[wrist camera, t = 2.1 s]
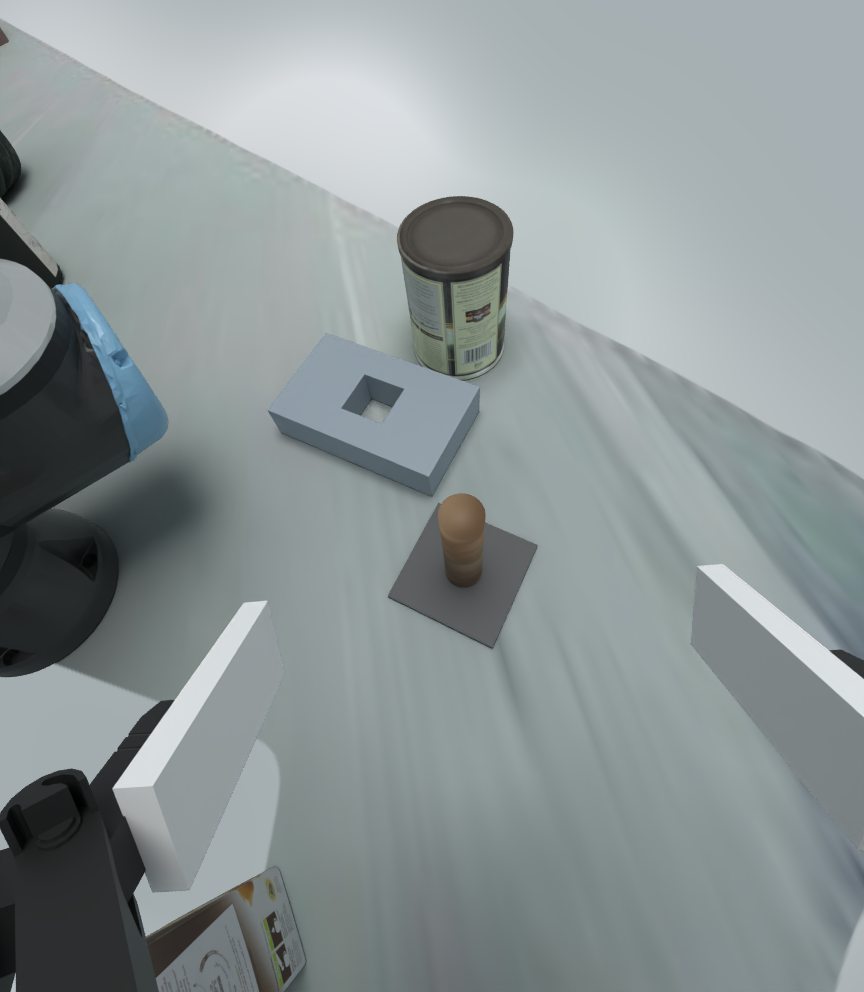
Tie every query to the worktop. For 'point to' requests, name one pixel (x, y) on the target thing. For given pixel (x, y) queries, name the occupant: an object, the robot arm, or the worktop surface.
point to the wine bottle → (25, 248)
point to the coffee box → (231, 942)
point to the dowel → (462, 538)
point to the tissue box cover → (3, 38)
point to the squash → (8, 165)
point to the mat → (472, 606)
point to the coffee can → (457, 283)
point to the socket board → (405, 431)
